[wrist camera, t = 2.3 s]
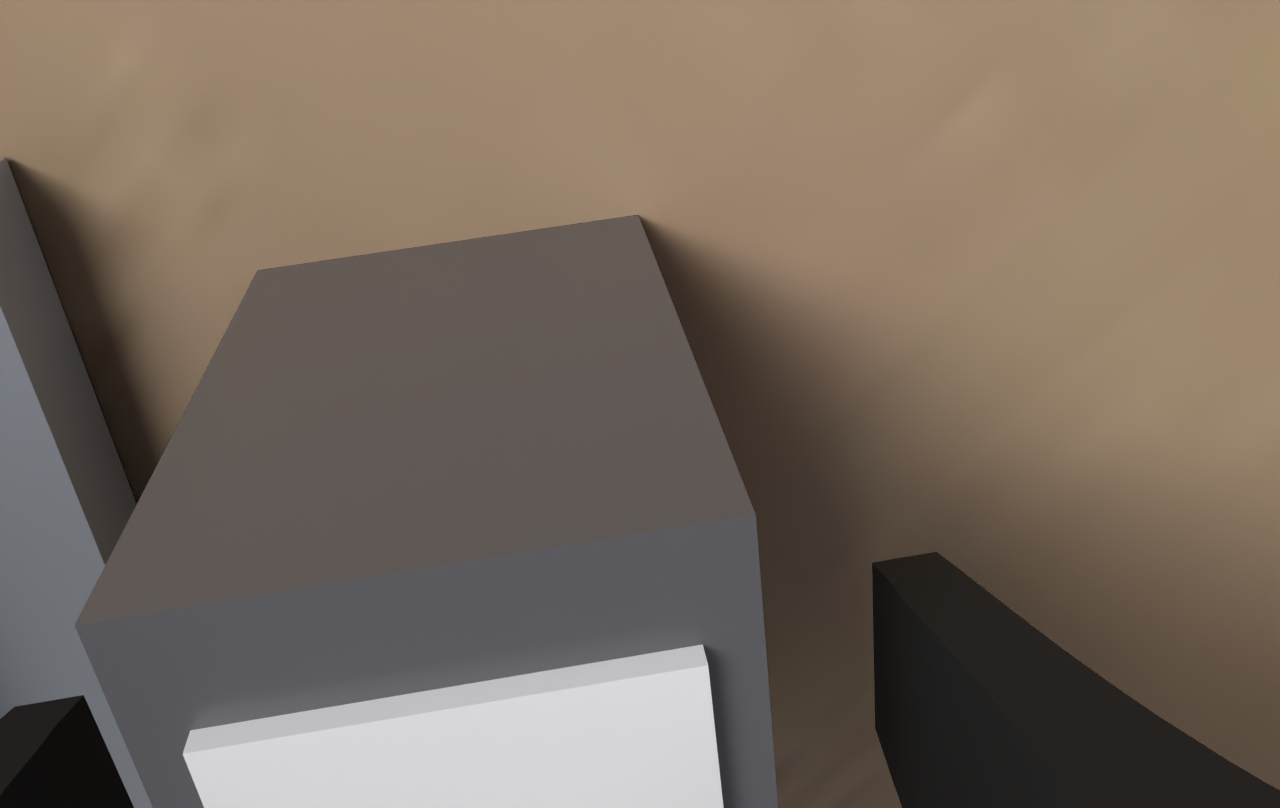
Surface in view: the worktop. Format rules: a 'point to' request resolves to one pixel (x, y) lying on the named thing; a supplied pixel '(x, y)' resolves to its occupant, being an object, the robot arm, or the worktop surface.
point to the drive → (445, 548)
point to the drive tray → (51, 490)
